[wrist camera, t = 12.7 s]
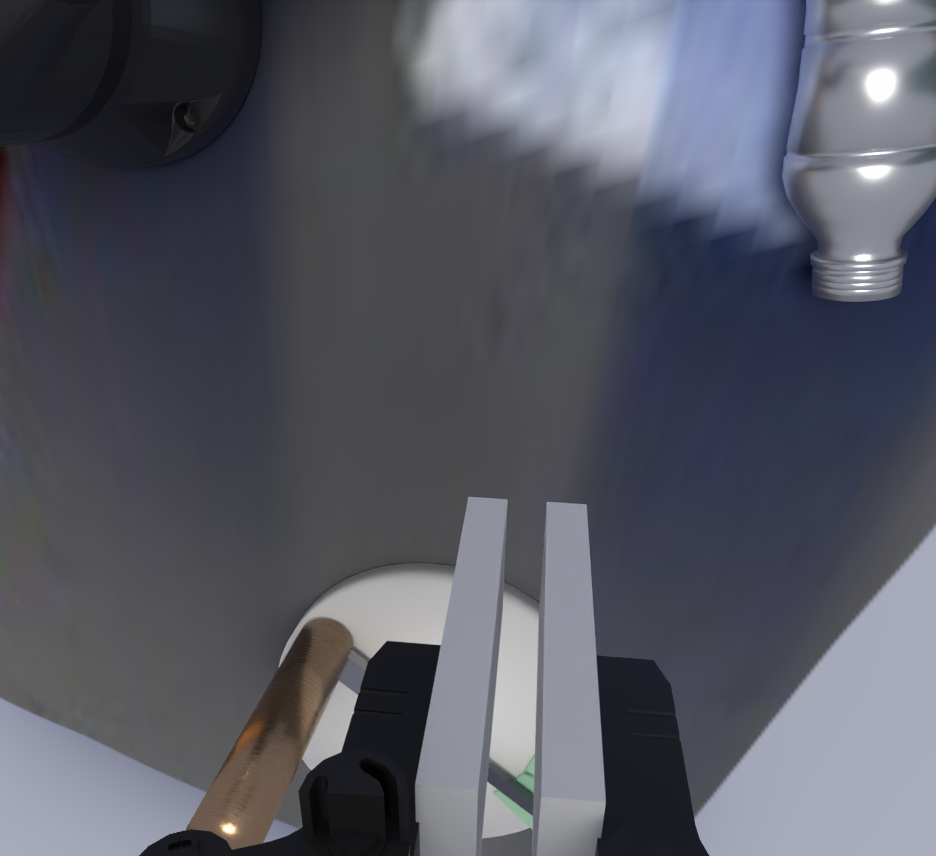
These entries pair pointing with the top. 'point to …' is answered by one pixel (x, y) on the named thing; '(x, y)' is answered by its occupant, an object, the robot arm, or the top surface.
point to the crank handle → (291, 738)
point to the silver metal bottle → (863, 140)
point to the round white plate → (422, 621)
